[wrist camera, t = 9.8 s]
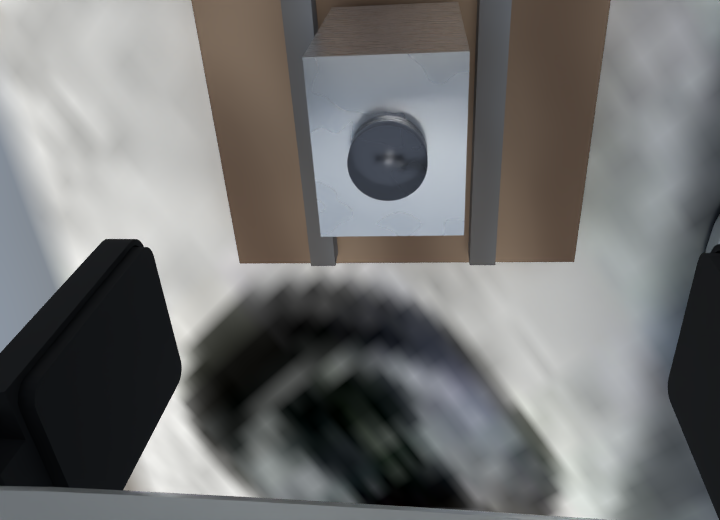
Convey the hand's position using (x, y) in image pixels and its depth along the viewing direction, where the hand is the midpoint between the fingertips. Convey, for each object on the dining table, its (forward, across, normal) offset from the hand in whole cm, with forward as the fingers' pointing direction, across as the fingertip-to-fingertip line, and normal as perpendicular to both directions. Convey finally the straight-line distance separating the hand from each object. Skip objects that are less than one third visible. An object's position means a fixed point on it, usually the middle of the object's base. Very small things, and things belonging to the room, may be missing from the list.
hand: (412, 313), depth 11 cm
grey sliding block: (+13, +1, 0) cm, 13 cm away
